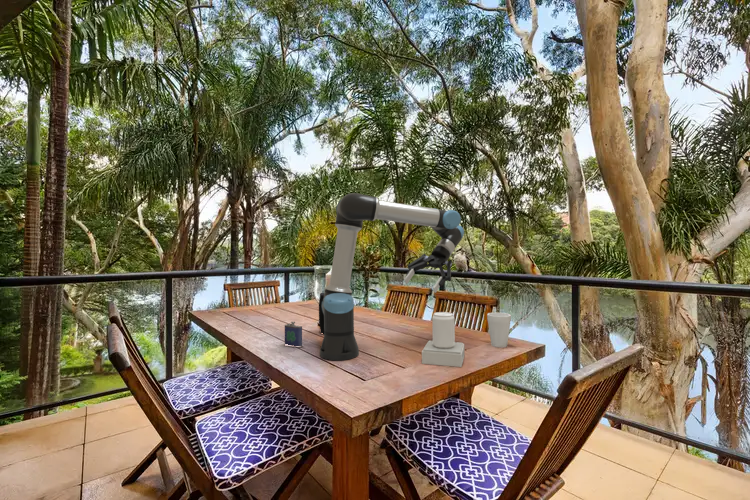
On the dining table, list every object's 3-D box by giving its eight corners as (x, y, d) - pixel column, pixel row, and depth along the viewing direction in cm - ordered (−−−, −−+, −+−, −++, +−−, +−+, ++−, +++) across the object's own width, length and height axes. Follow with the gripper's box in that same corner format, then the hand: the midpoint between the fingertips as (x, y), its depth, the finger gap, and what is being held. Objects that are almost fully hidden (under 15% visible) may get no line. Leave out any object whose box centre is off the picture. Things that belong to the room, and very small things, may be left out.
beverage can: (454, 349, 133) (454, 316, 133) (432, 348, 135) (431, 315, 135) (454, 343, 141) (454, 312, 141) (433, 342, 143) (432, 311, 143)
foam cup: (486, 347, 153) (486, 315, 153) (488, 341, 162) (488, 312, 162) (510, 349, 150) (510, 317, 149) (511, 343, 158) (511, 313, 158)
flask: (303, 346, 157) (303, 321, 157) (299, 348, 155) (298, 323, 154) (287, 344, 162) (286, 319, 162) (282, 346, 159) (282, 321, 159)
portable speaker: (334, 335, 175) (333, 294, 175) (316, 334, 178) (315, 294, 177) (340, 331, 184) (339, 292, 183) (323, 330, 186) (322, 291, 186)
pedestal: (421, 363, 133) (421, 349, 133) (428, 352, 147) (428, 340, 147) (461, 367, 129) (461, 352, 129) (464, 355, 143) (464, 342, 142)
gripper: (470, 263, 158) (448, 300, 146) (419, 251, 172) (396, 284, 161) (468, 251, 153) (445, 287, 142) (416, 239, 167) (392, 272, 156)
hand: (419, 285), depth 151 cm, fingers open, 13 cm apart
